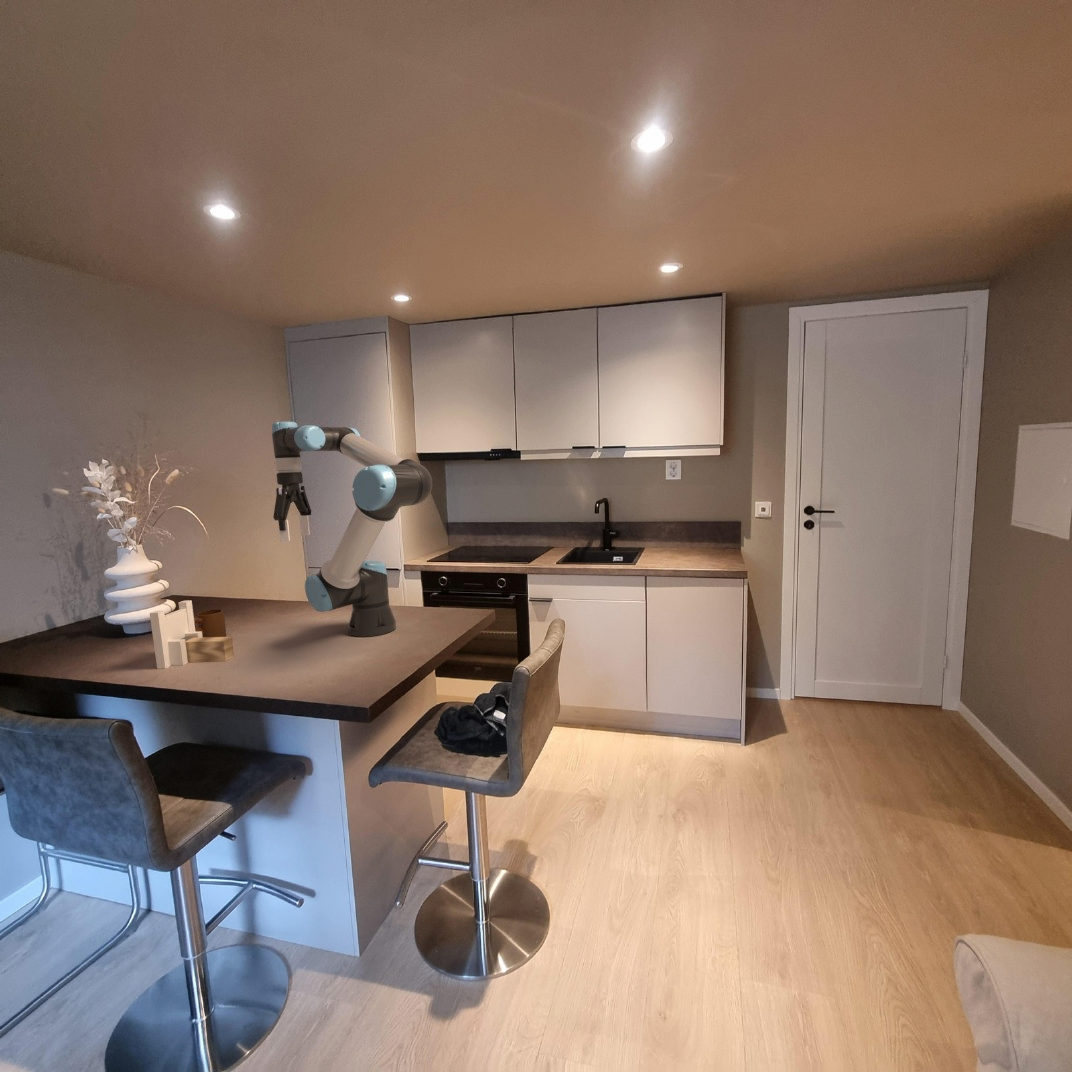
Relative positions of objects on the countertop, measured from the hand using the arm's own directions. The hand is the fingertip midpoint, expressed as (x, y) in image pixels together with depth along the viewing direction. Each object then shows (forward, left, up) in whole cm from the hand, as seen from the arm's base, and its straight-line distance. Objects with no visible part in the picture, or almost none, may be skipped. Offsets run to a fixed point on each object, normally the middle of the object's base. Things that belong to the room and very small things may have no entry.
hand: (295, 538), depth 182 cm
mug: (+29, +7, -32) cm, 44 cm away
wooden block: (+19, +23, -32) cm, 43 cm away
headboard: (+25, +23, -32) cm, 46 cm away
